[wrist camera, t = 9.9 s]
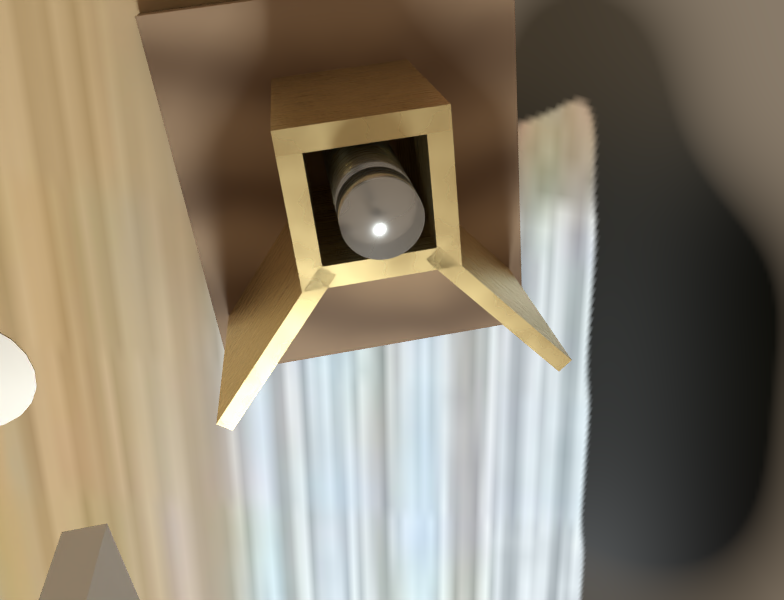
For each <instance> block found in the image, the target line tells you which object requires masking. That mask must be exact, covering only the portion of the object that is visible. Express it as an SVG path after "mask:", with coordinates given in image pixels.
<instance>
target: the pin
mask: <svg viewBox="0 0 784 600" xmlns="http://www.w3.org/2000/svg"><path fill="white" fill-rule="evenodd" d="M321 151H322V155H323V159H324V163H325V168H326V172H327V176H328V180H329V184H330V189H331V193H332V197H333V201H334V205H335V210H336V214H337V218H338V222H339V226H340V231H341V234H342V237H343V239H344V240H345V242H346V243H347V245H348V246H349V247H350V248H351V249H352V250H353V251H354V252H356V253H357V254H359V255H361V256H363V257H366V258H369V259H374V260H385V259H391V258H394V257H397V256H399V255H401V254H403V253H405V252H406V251H408V250H409V249H410V248H411V247H412V246H413V245H414V244H415V243H416V242H417V240H418V239H419V237H420V235H421V233H422V230H423V227H424V222H425V212H424V207H423V204H422V202H421V200H420V198H419V196H418V194H417V192H416V191H415V189H414V187H413V185H412V183H411V182H410V180H409V178H408V176H407V174H406V173H405V171H404V169H403V167H402V165H401V164H400V162H399V160H398V158H397V156H396V155H395V153H394V151H393V149H392V148H391V146H390V144H389V142H388V140H385V141H379V142H372V143H366V144H359V145H353V146H346V147H339V148H333V149H326V150H321Z"/></svg>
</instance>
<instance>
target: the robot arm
mask: <svg viewBox="0 0 784 600" xmlns="http://www.w3.org/2000/svg"><path fill="white" fill-rule="evenodd" d="M39 600H140V599H139V597H138V595H137V592H136V590H135V588H134V585H133V583H132V581H131V578H130V576H129V574H128V571H127V569H126V567H125V564H124V562H123V560H122V557H121V555H120V553H119V550H118V548H117V546H116V543H115V541H114V539H113V536H112V534H111V532H110V529H109V527H108V525H107V524H102V525H97V526H92V527H86V528H81V529H76V530H71V531H65V532H62V533H61V536H60V539H59V542H58V545H57V548H56V551H55V554H54V557H53V560H52V563H51V566H50V568H49V571H48V574H47V577H46V580H45V583H44V586H43V589H42V592H41V595H40V598H39Z"/></svg>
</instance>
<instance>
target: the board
mask: <svg viewBox="0 0 784 600" xmlns="http://www.w3.org/2000/svg"><path fill="white" fill-rule="evenodd" d="M135 18H136V21H137V25H138V29H139V33H140V36H141V40H142V44H143V48H144V51H145V55H146V59H147V62H148V66H149V70H150V74H151V77H152V81H153V85H154V89H155V92H156V96H157V100H158V103H159V107H160V111H161V115H162V118H163V122H164V126H165V130H166V133H167V137H168V141H169V144H170V148H171V152H172V156H173V159H174V163H175V167H176V171H177V174H178V178H179V182H180V185H181V189H182V193H183V197H184V200H185V204H186V208H187V212H188V215H189V219H190V223H191V226H192V230H193V234H194V238H195V241H196V245H197V249H198V253H199V256H200V260H201V264H202V267H203V271H204V275H205V279H206V282H207V286H208V290H209V294H210V297H211V301H212V305H213V308H214V312H215V316H216V320H217V323H218V327H219V331H220V335H221V338H222V342H223V346H224V349H225V345H226V336H227V327H228V318H229V315H230V313H231V311H232V310H233V308H234V307H235V305H236V303H237V302H238V300H239V299H240V297H241V295H242V294H243V292H244V290H245V289H246V287H247V286H248V284H249V282H250V281H251V279H252V278H253V276H254V274H255V273H256V271H257V269H258V268H259V266H260V265H261V263H262V261H263V260H264V258H265V257H266V255H267V253H268V252H269V250H270V248H271V247H272V245H273V244H274V242H275V240H276V239H277V237H278V236H279V234H280V232H281V231H282V229H283V227H284V226H285V224H286V223H287V221H288V218H287V213H286V208H285V202H284V197H283V192H282V187H281V182H280V177H279V172H278V167H277V162H276V156H275V151H274V146H273V141H272V136H271V79H273V78H280V77H287V76H294V75H301V74H308V73H315V72H322V71H329V70H336V69H342V68H349V67H356V66H363V65H370V64H377V63H384V62H391V61H398V60H405V59H407V60H408V61H409V62H410V63H411V64H412V65H413V66H414V67H415V68H416V69H417V70H418V71H419V72H420V73H421V74H422V75H423V76H424V77H425V78H426V79H427V80H428V81H429V82H430V83H431V84H432V85H433V86H434V88H435V89H436V90H437V91H438V92H439V93H440V94H441V95H442V96H443V97H444V98H445V99H446V100H447V101H448V102H449V103H450V104H451V114H452V129H453V143H454V158H455V172H456V186H457V201H458V215H459V224H460V225H461V226H462V227H463V228H464V229H465V230H466V231H467V232H469V233H470V234H471V235H472V236H473V237H474V238H475V239H476V240H478V241H479V242H480V243H481V244H482V245H483V246H484V247H485V248H486V249H488V250H489V251H490V252H491V253H492V254H493V255H494V256H495V257H497V258H498V259H499V260H500V261H501V262H502V263H503V264H504V265H506V266H507V267H508V268H509V269H510V271H511V272H512V274H513V275H514V277H515V278H516V279H517V281H518V282H519V284H520V285H521V247H520V206H519V165H518V124H517V87H516V85H517V83H516V45H515V44H516V42H515V2H514V0H236V1H229V2H222V3H214V4H207V5H199V6H192V7H184V8H177V9H169V10H162V11H155V12H147V13H140V14H138V15H137V16H135ZM388 142H389V144H390V146H391V148H392V149H393V151H394V153H395V155H396V156H397V148H396V139H392V140H388ZM305 157H306V163H307V168H308V174H309V180H310V186H311V187H315V186H321V185H328V184H329V180H328V176H327V172H326V168H325V163H324V159H323V155H322V151H321V150H320V151H313V152H306V153H305ZM397 158H398V157H397ZM497 325H503V324H502V323H500V322H499V321H498V320H497V319H496V318H494V317H493V316H492V315H491V314H490V313H488V312H487V311H486V310H485V309H484V308H482V307H481V306H480V305H479V304H478V303H476V302H475V301H474V300H473V299H472V298H470V297H469V296H468V295H467V294H466V293H465V292H463V291H462V290H461V289H460V288H459V287H457V286H456V285H455V284H454V283H453V282H451V281H450V280H449V279H448V278H447V277H445V276H444V275H443V274H442V273H441V272H439V271H438V270H433V271H427V272H421V273H415V274H409V275H403V276H397V277H391V278H385V279H379V280H373V281H367V282H361V283H355V284H349V285H343V286H337V287H331V288H327V290H326V291H325V293H324V294H323V296H322V297H321V299H320V300H319V302H318V303H317V305H316V306H315V308H314V309H313V311H312V312H311V314H310V315H309V317H308V318H307V320H306V321H305V323H304V324H303V326H302V327H301V329H300V330H299V332H298V333H297V335H296V336H295V338H294V339H293V341H292V342H291V344H290V345H289V347H288V348H287V350H286V351H285V353H284V354H283V356H282V357H281V359H280V360H279V362H278V363H277V364H279V363H285V362H291V361H296V360H302V359H308V358H314V357H319V356H325V355H331V354H337V353H342V352H348V351H354V350H359V349H365V348H371V347H377V346H382V345H388V344H394V343H400V342H405V341H411V340H417V339H423V338H428V337H434V336H440V335H445V334H451V333H457V332H463V331H468V330H474V329H480V328H486V327H491V326H497Z"/></svg>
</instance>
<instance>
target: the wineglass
mask: <svg viewBox="0 0 784 600" xmlns="http://www.w3.org/2000/svg"><path fill="white" fill-rule="evenodd" d="M35 390H36V379H35V371H34V369H33V367H32V365H31V363H30V361H29V359H28V357H27V355H26V354H25V353H24V352H23V351H22V350H21V349H20V348H19V347H18V346H17V345H16V344H15V343H14V342H13V341H12V340H11V339H9V338H7V337H6V336H4V335H2V334H0V425H4V424H6V423H8V422H10V421H12V420H13V419H15V418H17V417H19V416H20V415H22V413H23V412H24V411H25V410H26V409H27V407H28V406H29V405H30V404H31V403H32V400H33V397H34V394H35Z"/></svg>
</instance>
